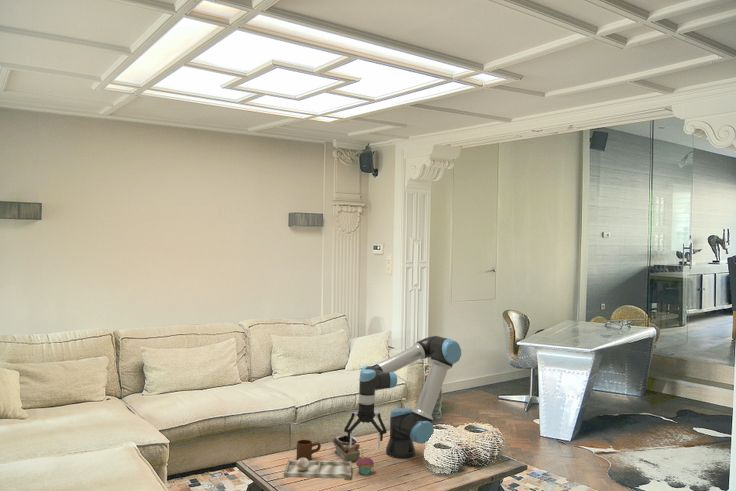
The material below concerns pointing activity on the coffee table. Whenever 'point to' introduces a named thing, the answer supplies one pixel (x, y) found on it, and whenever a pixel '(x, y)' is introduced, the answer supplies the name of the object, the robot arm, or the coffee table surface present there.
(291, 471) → the divided tray
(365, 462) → the cupcake
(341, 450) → the decorative box
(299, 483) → the coffee table surface
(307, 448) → the mug
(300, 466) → the wooden egg
